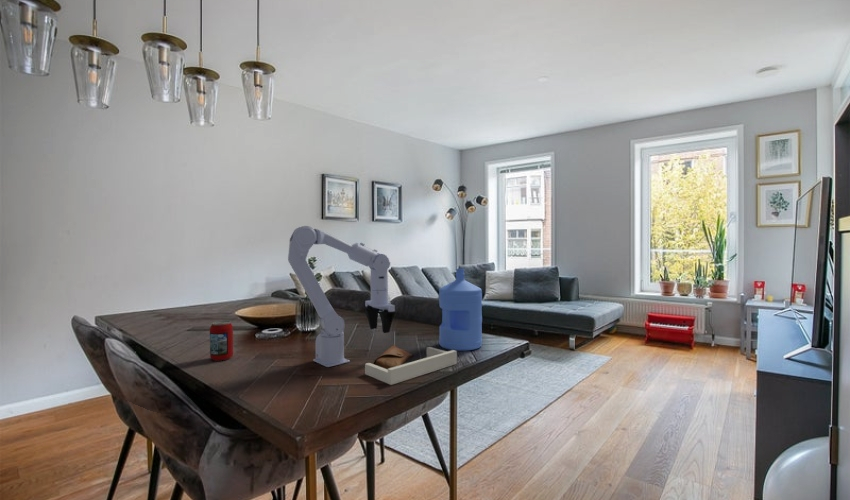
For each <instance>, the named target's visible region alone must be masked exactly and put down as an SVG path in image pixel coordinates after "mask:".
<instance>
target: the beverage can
mask: <svg viewBox="0 0 850 500" xmlns="http://www.w3.org/2000/svg"><path fill="white" fill-rule="evenodd" d="M209 349H210V350H209V355H210V356H209V357H210V359H211V360H213V361H215V362H220V361H221V362H223V361H228V360H230V359H231V358H232V357H234V326H233V324H232V323H231V321H230V320H218V321H214V322H212V324H211V326H210V328H209ZM222 360H223V361H222Z"/></svg>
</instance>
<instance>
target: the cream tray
mask: <svg viewBox="0 0 850 500" xmlns="http://www.w3.org/2000/svg"><path fill="white" fill-rule="evenodd" d="M457 352H458V351H456V350H448V351H446V350H443V349H439V348H435V347H432V346H428V347H426V357H424V358H420V359H418V360H414V361H411V362H406V363H405V364H403V365H399V366H396V367H392V368H389V369H388V370H387V369H385V368H382V367H379V366H377V365H374V364H373V363H371V362H367V363H365V364H364V375H366V376H369V377H370V378H371V377H372V378H374V379H376V380H378V381H380V382H383V383H385V384H388V385H390V386H393V385H395V384H399V383H401V382H404V381H408V380H411V379H414V378H417V377H420V376H423V375H426V374H429V373H433V372H436V371H438V370H439V371H440V370H442V369H444V368H448V367H451V366H454V365H457V363H458V360H457V359H458V353H457Z"/></svg>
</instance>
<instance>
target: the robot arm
mask: <svg viewBox="0 0 850 500" xmlns="http://www.w3.org/2000/svg"><path fill="white" fill-rule="evenodd" d="M314 245H325V246H328V247H330V248H333V249H336V250H338V251H340V252H343V253H345V254H347V255H348V258H349V260H351V261H354V262H356V263H358V264H360V265H362V266H365V267H368V268H369V269H370V280H369V281H370V283H369V284H370V300H365V301H364V302H365V303H364V305H365V307H364V308H363V312H364V314H365V315H366V317H367V321H368V325H369V329H370V330H374V329H375V330H376V329H377V328H378V319H379V318H378V317H380V320H381V326H382V327H381V328H382V333H383V334H387V333H388V334H389V333H390V331H391V327H392V323H393V319H394V318H395V316H396V315H397V311H396V306H395V304H391V303H392V302H391V301H389V281H388V279H389V278H388V277H389V276H388V274H389V273H388V269H389V268H390V266H391V262H390V258H389V257H388V256H387V255H386V254H384V253H379V252H378V250H377V249H372V248H369V247H367V246H366V245H365V243H363V242H360V243H358V242H355V243H353V244H351V243H349V242H346V241H344V240H343V239H340V238H339V237H338V236H334V235H332V234H331V233H328V232H326V231H324V230H321V229H318V228H313V227H311V226H308V225H303V226H298V227H296V228H295V229H294V230H293V232H292V234H291V235H290V237H289V246H288V255H287V260H288V264H289V265H290V266H291V268H292V271H293V272H294V274H295V275H296V277H297V279H298V281H299V283H300V284H301V287H303V289H304V291H305V293H306V295H307V296H308V298H309V300H310V302H311V304H312V305H313V307H314V308H315V310H316V313H317V315H318V317H319V324H320V326H321V328H322V330H320V331H321V332H320V333H319V334H318V335H317V336H316V339H315V358H313V360H312V361H313V362H316V363H317V364H318V365H322V366H324V367H326V368H330V367H331V368H332V367H334V366H339V365H342V364H347V363H350V359H347V358H345V333H344V330H345V326H346V323H345V320H344V318H343V317H341V316H340V315H339V314H338V313H337V312H336V311H335V309H334V308H333V306H332V305H331V303H330V301H329V299H328V298H327V295H326V294H325V292H324V290H323V289H322V287H321V285H320V283H319V281H318V279H317V278H316V276H315V274H314V272H313V271H312V269H311V267H310V266H309V263H308V262H307V258H308V255H309V251H310V249H311V248H312V247H313V246H314ZM380 310H381V311H380Z"/></svg>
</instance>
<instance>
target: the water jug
mask: <svg viewBox="0 0 850 500" xmlns="http://www.w3.org/2000/svg"><path fill="white" fill-rule="evenodd" d="M465 271H466V270H465V268H456V269H455V272H456V273H455V280H453V281H452V282H449V283H447V284H446V285H444V286H442V287H439V289H438V290H439V294H438V300H439V302H438V303H439V308H440V309H442V310H441V313H442V314H441V317H442V321H441V324H440V325H439V331H438V332H439V338H438V344H439V345H440V347H441V348H444V349H445V350H448V351H452V350H455V351H457V352H458V351H459V352H463V351H464V352H465V351H473V350H474V351H475V350H477V349H480V348H481V347H482V345H483V337H482V335H483V333H482V332H483V330H482V328H483V327H482V326H483V325H482V323H483V315H482V313H483V311H482V309H483V308H482V306H483V303H482V301H483V292H482V288H480V287H479V286H477V285H476V284H473V283H471V282H469V281H468V280H466V278H465Z"/></svg>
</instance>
